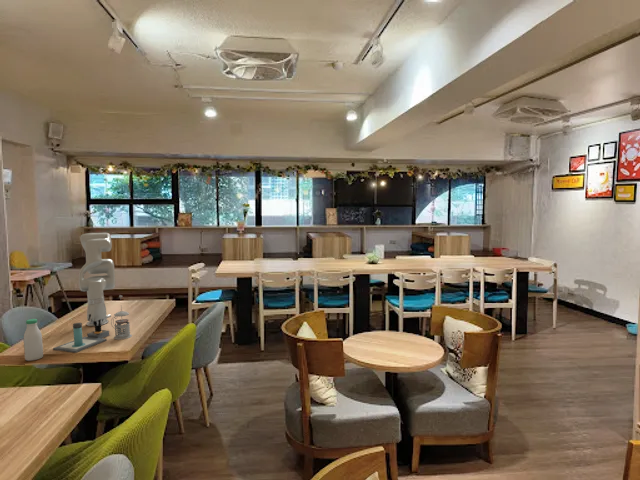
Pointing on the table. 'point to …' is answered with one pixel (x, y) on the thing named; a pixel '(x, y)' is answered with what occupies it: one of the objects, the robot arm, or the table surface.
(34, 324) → the milk bottle
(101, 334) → the button housing
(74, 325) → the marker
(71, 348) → the drawing board
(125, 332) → the french press
